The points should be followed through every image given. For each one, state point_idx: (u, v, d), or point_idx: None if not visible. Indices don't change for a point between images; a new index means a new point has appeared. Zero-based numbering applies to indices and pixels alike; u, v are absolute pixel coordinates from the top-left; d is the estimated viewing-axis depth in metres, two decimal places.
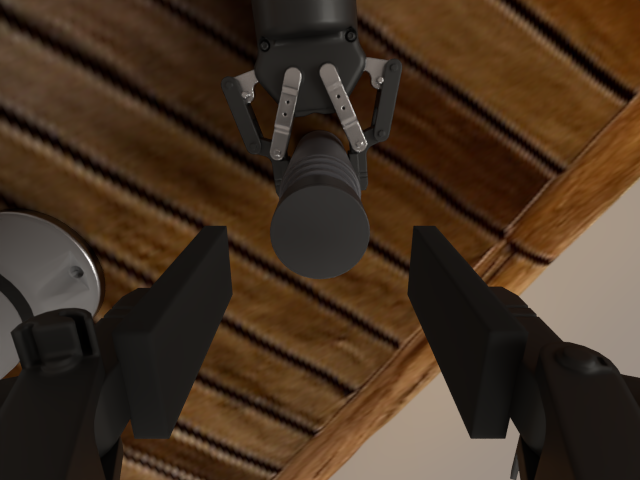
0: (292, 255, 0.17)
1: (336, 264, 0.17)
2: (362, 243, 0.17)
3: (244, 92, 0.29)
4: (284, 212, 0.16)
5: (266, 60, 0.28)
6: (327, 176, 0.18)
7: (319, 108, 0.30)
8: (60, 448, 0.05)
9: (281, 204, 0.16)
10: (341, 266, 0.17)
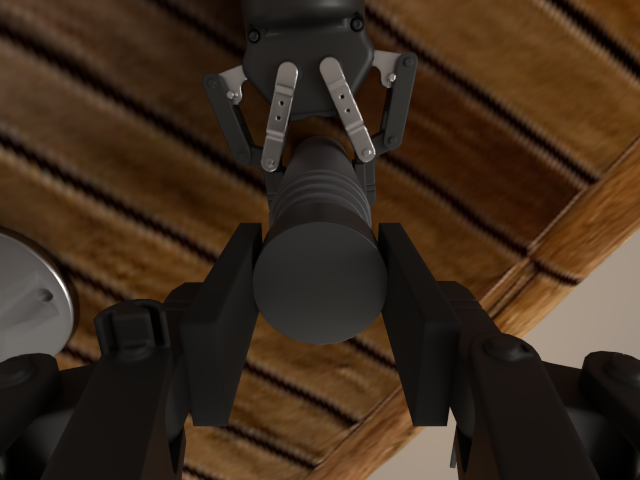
0: (282, 314, 0.12)
1: (342, 326, 0.13)
2: (378, 298, 0.12)
3: (230, 91, 0.25)
4: (271, 258, 0.12)
5: (256, 53, 0.24)
6: (330, 204, 0.13)
7: (319, 110, 0.25)
8: (138, 435, 0.05)
9: (266, 247, 0.12)
10: (349, 328, 0.13)
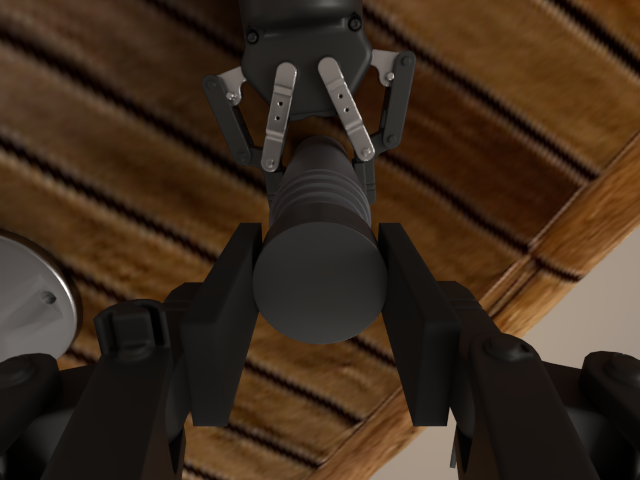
0: (366, 302, 0.12)
1: (348, 247, 0.12)
2: (301, 232, 0.12)
3: (229, 93, 0.25)
4: (317, 335, 0.13)
5: (254, 54, 0.24)
6: None
7: (318, 110, 0.25)
8: (138, 435, 0.05)
9: (310, 342, 0.13)
10: (348, 239, 0.12)
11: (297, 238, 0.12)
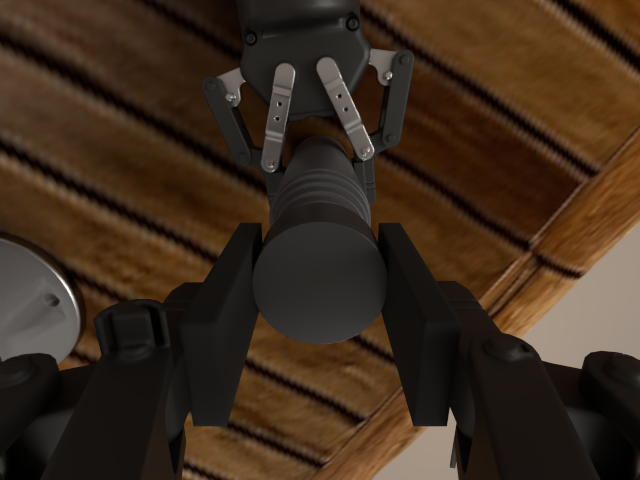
0: (311, 240, 0.12)
1: (269, 284, 0.12)
2: (280, 325, 0.13)
3: (228, 94, 0.25)
4: (372, 263, 0.12)
5: (253, 55, 0.24)
6: None
7: (317, 110, 0.25)
8: (138, 435, 0.05)
9: (384, 265, 0.12)
10: (263, 289, 0.12)
11: (287, 325, 0.13)
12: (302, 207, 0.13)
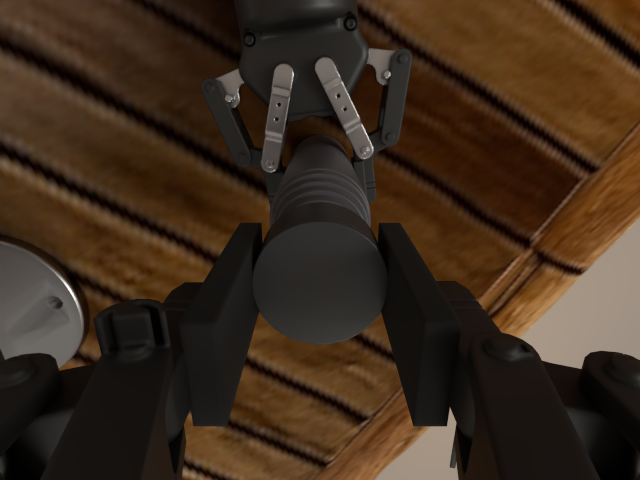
0: (282, 314, 0.12)
1: (342, 325, 0.13)
2: (378, 298, 0.12)
3: (228, 95, 0.25)
4: (271, 257, 0.12)
5: (252, 57, 0.24)
6: (330, 204, 0.13)
7: (316, 110, 0.25)
8: (138, 435, 0.05)
9: (266, 247, 0.12)
10: (349, 328, 0.13)
11: (375, 293, 0.12)
12: None
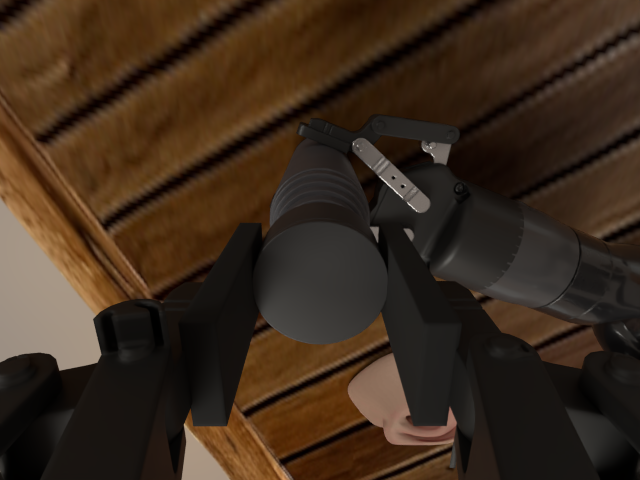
0: (282, 314, 0.12)
1: (342, 325, 0.13)
2: (378, 298, 0.12)
3: (434, 146, 0.26)
4: (271, 257, 0.12)
5: (447, 183, 0.27)
6: (330, 204, 0.13)
7: (378, 210, 0.28)
8: (138, 435, 0.05)
9: (266, 247, 0.12)
10: (349, 328, 0.13)
11: (375, 293, 0.12)
12: None
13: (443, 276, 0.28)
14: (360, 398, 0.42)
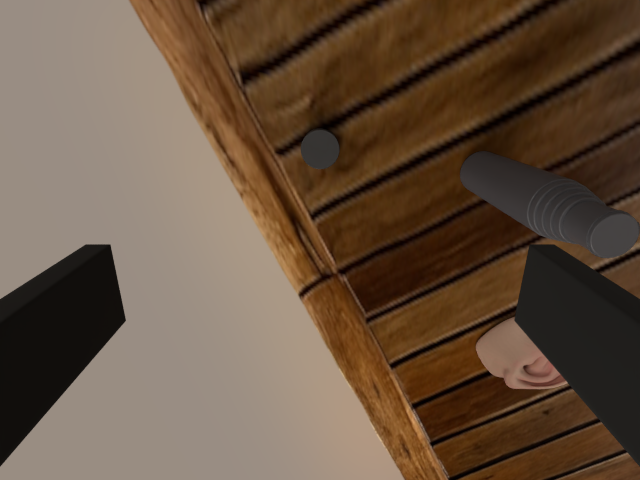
0: (309, 158, 0.44)
1: (326, 162, 0.44)
2: (336, 153, 0.43)
3: None
4: (306, 140, 0.43)
5: None
6: None
7: None
8: None
9: (305, 137, 0.43)
10: (328, 163, 0.44)
11: (335, 151, 0.43)
12: None
13: None
14: (487, 352, 0.54)
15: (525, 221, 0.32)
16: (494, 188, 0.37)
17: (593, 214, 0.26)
